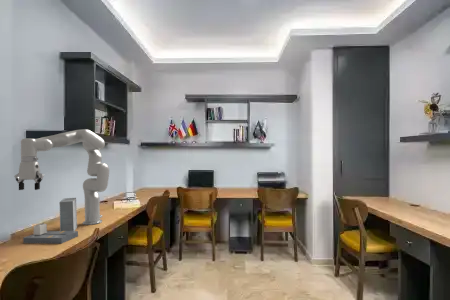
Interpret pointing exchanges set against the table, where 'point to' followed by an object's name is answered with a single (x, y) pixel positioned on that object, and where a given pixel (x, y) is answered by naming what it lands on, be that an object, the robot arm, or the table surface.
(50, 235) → the platform
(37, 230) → the fader knob
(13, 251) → the table surface
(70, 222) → the hard drive box
